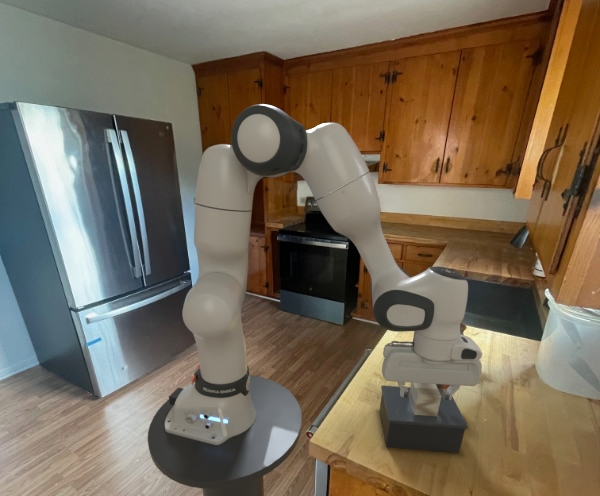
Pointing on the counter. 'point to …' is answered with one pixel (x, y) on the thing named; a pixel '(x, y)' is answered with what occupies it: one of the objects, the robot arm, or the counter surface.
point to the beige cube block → (424, 399)
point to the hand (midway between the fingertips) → (424, 396)
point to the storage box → (420, 424)
